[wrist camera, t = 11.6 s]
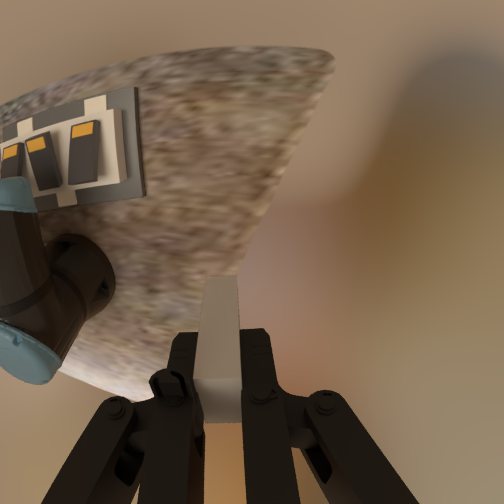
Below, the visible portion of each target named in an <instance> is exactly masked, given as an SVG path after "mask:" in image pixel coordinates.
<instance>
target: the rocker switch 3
mask: <svg viewBox="0 0 504 504" xmlns="http://www.w3.org/2000/svg"><path fill="white" fill-rule="evenodd" d="M99 131H100V122H99V121H98V120H97V119H96V120H91V121H87V122H83V123H79V124H75V125H72V126H71V132H70V144H69V162H68V185H72V186H73V185H78V184H84V183H90V182H96V181H98V149H99Z"/></svg>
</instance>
